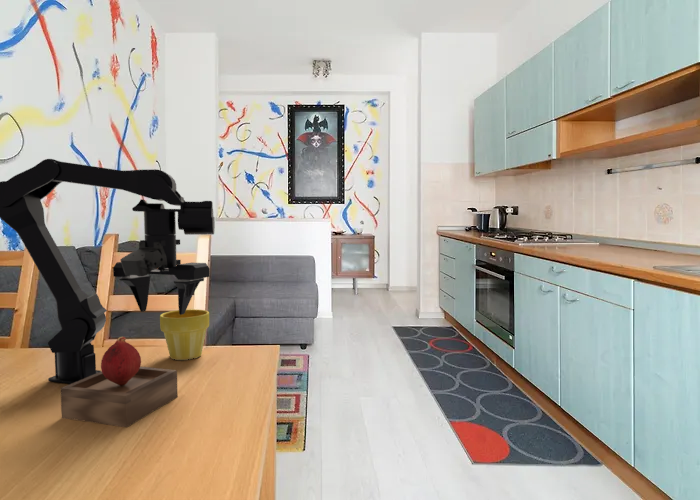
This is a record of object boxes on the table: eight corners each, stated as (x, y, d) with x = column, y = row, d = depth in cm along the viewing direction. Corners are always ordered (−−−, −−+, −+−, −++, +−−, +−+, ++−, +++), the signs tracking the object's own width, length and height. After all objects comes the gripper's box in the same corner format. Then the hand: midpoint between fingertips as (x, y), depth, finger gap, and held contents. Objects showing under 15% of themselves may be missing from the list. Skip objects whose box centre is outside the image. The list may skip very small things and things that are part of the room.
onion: (123, 392, 71) (121, 342, 70) (93, 390, 72) (91, 340, 72) (149, 380, 76) (147, 333, 76) (120, 378, 78) (118, 332, 77)
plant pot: (172, 349, 108) (171, 308, 107) (216, 349, 107) (215, 308, 107) (152, 362, 97) (151, 317, 97) (200, 363, 97) (199, 318, 96)
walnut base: (61, 417, 70) (60, 388, 70) (119, 389, 82) (118, 364, 81) (126, 427, 67) (125, 396, 67) (177, 396, 79) (176, 370, 78)
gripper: (88, 235, 85) (91, 318, 86) (173, 236, 79) (175, 325, 80) (133, 233, 95) (135, 307, 96) (210, 234, 90) (211, 312, 91)
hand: (162, 312), depth 91 cm, fingers open, 9 cm apart
